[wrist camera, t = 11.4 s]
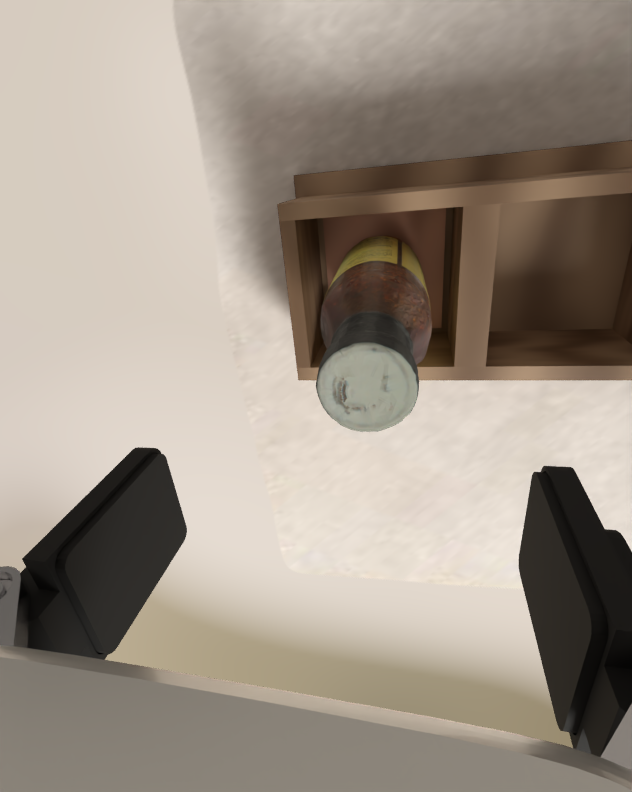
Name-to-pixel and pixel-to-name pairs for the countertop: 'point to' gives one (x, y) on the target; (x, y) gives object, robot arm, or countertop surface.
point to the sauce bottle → (374, 335)
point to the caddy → (483, 258)
